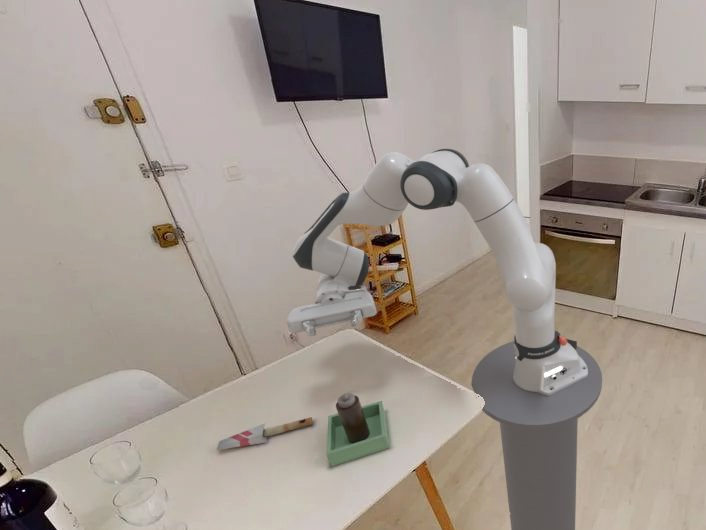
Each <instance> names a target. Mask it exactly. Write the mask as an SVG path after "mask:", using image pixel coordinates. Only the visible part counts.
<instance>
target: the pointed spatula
mask: <svg viewBox="0 0 706 530" xmlns="http://www.w3.org/2000/svg"><path fill="white" fill-rule="evenodd" d="M313 424H314V421H313V417H312V416H311V417H310V416H309V417H306V418H303V419H298V420H295V421H292V422H287V423H283V424H280V425H275V426H272V427H269V428H265V423H263V424H260V425H257V426H254V427H252V428H250V429H247V430H245V431H242V432H239V433H236V434H235V435H234V434H233V435H232V436H229V437H227V438H224V439H221V440H218V442H217V446H216V451H219V450H226V449H231V448H239V447H245V446H252V445H258V444H266V443H267V440H268V437H271V436H274V435H277V434H281V433H285V432H288V431H292V430H296V429H300V428H303V427H304V428H305V427H308V426H312V425H313Z"/></svg>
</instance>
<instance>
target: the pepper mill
mask: <svg viewBox="0 0 706 530" xmlns="http://www.w3.org/2000/svg"><path fill="white" fill-rule="evenodd" d="M335 409H336V412H337V413H338V414H339V417H340V420H341V422H342V425H343V428H344V430H345V433H346V436H347V438H348V441H349V442H350V443H352V444H354V443H357V442H360V441H363V440H366V439H367V438H368V437H369V435H370V431H369V428H368V425H367V422H366V419H365V416H364V413H363V410H362V403H361V400H360V398H359V396H358V395H355V394H354V393H351V392H347V393H343V394H342V395H340V396H339V397H338V399H337V401H336V403H335Z"/></svg>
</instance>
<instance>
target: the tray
mask: <svg viewBox="0 0 706 530" xmlns="http://www.w3.org/2000/svg"><path fill="white" fill-rule="evenodd" d="M361 407H362V410H363V413H364V416H365V419H366V422H367V425H368V428H369V431H370V435H369V437H368V438H367V439H366V440H363V441H360V442H357V443H354V444H352V443H350V442H349V441H348V438H347V436H346V433H345V430H344V428H343V425H342V422H341V420H340V417H339V414H338V412H337V413H334V414H331V415H328V416H327V434H326V435H327V437H326V438H327V439H326V456H327V459H328V462H329V463H330V466H331V467H335V466H337V465H341V464H344V463H347V462H350V461H354V460H356V459H359V458H362V457H366V456H369V455H371V454H375V453H377V452H380V451H384V450H386V449H390V441H389V432H388V425H387V418H386V417H387V416H386V411H385V408H384V404H383V401H382V400H380V401H377V402H376V401H375V402H372V403H369V404H366V405H361Z"/></svg>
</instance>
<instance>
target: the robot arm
mask: <svg viewBox="0 0 706 530" xmlns="http://www.w3.org/2000/svg"><path fill="white" fill-rule="evenodd" d="M456 202H457V203H459V204H461V205H462V206H463V207H464V208H465V210H466V211H467V212H468V214H469V216H470V218H471V219H472V221H473V222H474V224H475V225H476V227H477V228H478V230H479V233H480V234H481V235H482V238H484V240H485V242H486V244H487V245H488V247H489V249H490V251H491V253H492V256H493V258H494V260H495V263H496V266H497V268H498V271H499V273H500V276H501V278H502V281H503V284H504V287H505V291H506V297H507V301H508V302H509V304H510V305H511V306H512V307H513V308H514V309H513V318H514V319H513V320H514V333H515V334H514V337H513V341H514V350H515V355H516V363H515V369H514V373H513V380H514V382H515V384H516V385H517V386H519V387H520V388H522V389H524V390H527V391H531V392H539V393H541V394H543V395H546V396H549V395H552V394H554V393H556V392H558V391H560V390H562V389H564V388H566V387H568V386H570V385H572V384H574V383H575V382H577V381H579V380H581V379H583V378H585V377H587V376H588V368H587V366H586V364H585V362H584V361H583V359H582V358H581V357H580V356H579V355H578V354H577V352H576V349H577V346H578V341H577V340H573V339H568V338H565V336H561V333H560V332H559V331H558V330H556V329H555V328H556V327H555V325H556V324H555V321H556V320H555V310H556V309H555V306H556V279H557V278H556V275H557V273H556V272H557V270H556V269H557V266H556V265H557V263H556V257H555V255H554V252H553V250H552V249H551V248H550V247H549V246H548V245H547V244H544V243H541V242H535V241H534V238H533V235H532V231H531V227H530V225H529V223H528V221H527V219H526V217H525V216H524V214H523V212H522V210H521V209H520V206H519V205H518V203H517V201H516V200H515V198H514V196H513V195H512V193H511V191H510V189H509V188H508V186H507V185H506V183H505V182H504V181H503V179H502V178H501V177H500V176H499V174H498V173H497V172H496V171H495V170H494V169H493V167H492V166H490V165H489V164H486V163H482V162H479V163H478V162H477V163H474V164H469V161H468V160H467V158H466V157H465V156H464V155H463V154H462V153H461V152H460V151H458V150H456V149H453V148H440V149H437V150H434V151H433V152H430V153H427V154H425V155H423V156H420V158H418V159H416V160H414V159H412V158H411V157H409V156H407V155H406V154H404V153H401V152H398V151H396V152H395V151H390V152H387V153H385V154H383V155H382V156H381V157H380V158H379V159H378V161H377V162H376V163H375V164H374V166H373V167H372V168H371V170H369V173H368V174H367V176H366V177H365V180H364V181H363V183H362V185H360V186H359V187H358V188H356V189H355V190H352V191H350V192H342V193H340V194H339V195H337V196H336V197H335V198H334V200H332V201H331V203H330V204H329V205H328V206H327V207H326V208H325V209H324V211H323V212H322V213H321V214H320V216H319V217H318V218H317V219H316V220H315V222H314V223H313V224H312V225H311V226H310V227H309V229H307V231H305V232H304V233H303V234H302V235H301V236H300V237H299V238H297V240H296V241H295V244H294V246H293V250H292V258H293V260H294V261H295V263H296V264H297V266H298V267H299V268H300V269H303V270H308V271H315V272H318V273H320V277H319V278H318V281H317V284H316V285H317V286H316V292H315V293H316V294H315V298H314V299H315V301H314V303H311V304H307V305H301V306H298V307H295V308H293V309H292V310H291V311H290V312H289V314H288V316H287V317H286V318H287V319H286V325H287V328H288V330H289V332H290V333H292V334H298V333H302V332H305V333H307V336H308V337H313V336H317V330H318V329H321V328H326V327H329V326H334V325H339V324H344V323H348V322H349V323H350V326H351V327H352V328H353V327H358V326H359V323H360V322H361V321H362V320H363V319H366V318H371V317H374V316H377V314H378V311H377V307H376V303H375V300H374V297H373V295H372V294H371V293H370V292H369V291H368V288H367V287H366V285H363V284H364V283H365V281H366V279H367V277H368V274H369V269H370V260H369V256H368V254H367V252H366V251H365V250H363V249H360V248H358V247H355V246H352V245H350V244H346V243H343V242H342V241H338V240H336V239H333V238H330V237H329V236H330V235H332V233H333V232H334V230H336V228H337V227H338V226H340V225H346V224H348V225H349V224H351V225H352V224H354V225H362V226H369V227H386V226H389V225H392V224H394V223H396V222H397V220H398V219H399V218H400V217H402V214H403V213H404V212H405V210H406V208H407V207H408V205H411V206H412V207H413V208H415V209H418V210H422V211H429V210H436V209H440V208H446V207H452V206H454V204H455V203H456ZM316 329H317V330H316Z"/></svg>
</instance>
